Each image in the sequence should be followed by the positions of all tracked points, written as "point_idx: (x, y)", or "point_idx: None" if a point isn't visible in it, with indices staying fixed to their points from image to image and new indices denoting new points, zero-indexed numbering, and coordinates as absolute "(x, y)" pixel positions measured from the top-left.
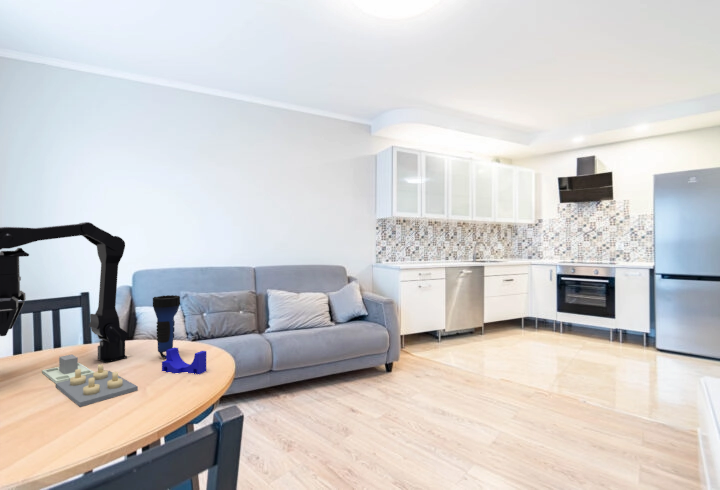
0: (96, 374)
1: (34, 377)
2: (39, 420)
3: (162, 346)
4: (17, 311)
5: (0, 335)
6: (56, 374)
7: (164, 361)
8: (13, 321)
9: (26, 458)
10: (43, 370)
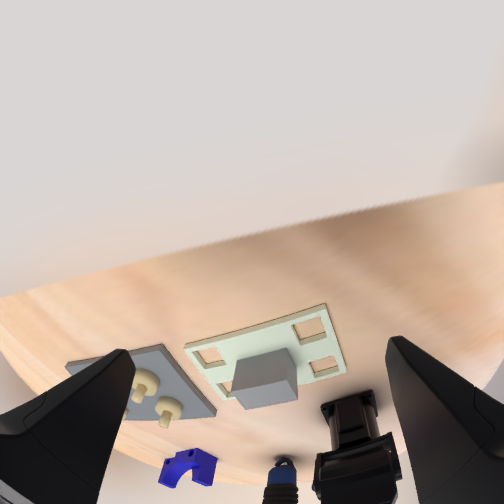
0: (155, 407)
1: (284, 293)
2: (35, 323)
3: (269, 478)
4: (422, 489)
5: (115, 351)
6: (247, 346)
7: (194, 463)
8: (398, 411)
9: None
10: (318, 312)
